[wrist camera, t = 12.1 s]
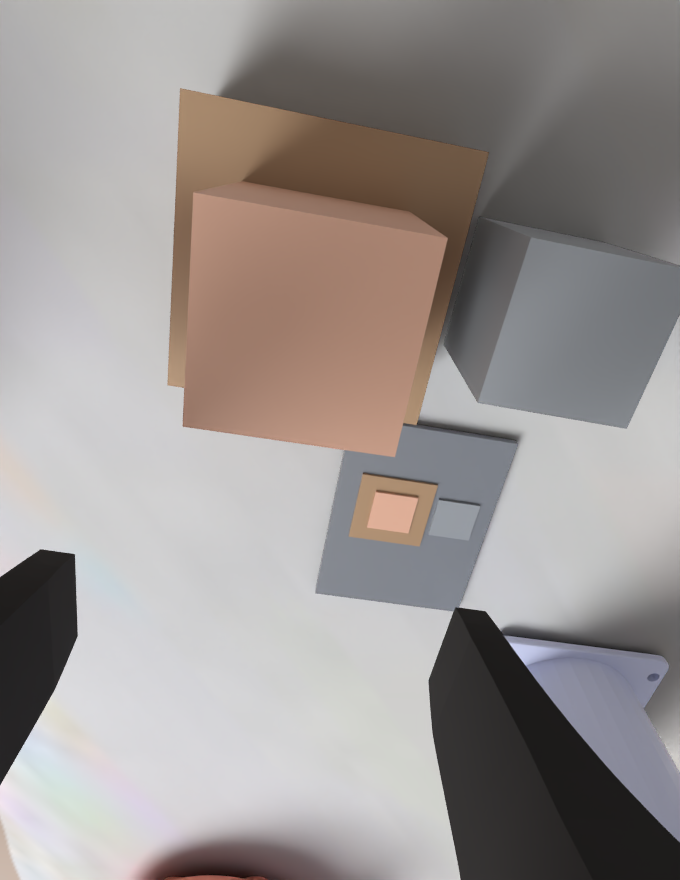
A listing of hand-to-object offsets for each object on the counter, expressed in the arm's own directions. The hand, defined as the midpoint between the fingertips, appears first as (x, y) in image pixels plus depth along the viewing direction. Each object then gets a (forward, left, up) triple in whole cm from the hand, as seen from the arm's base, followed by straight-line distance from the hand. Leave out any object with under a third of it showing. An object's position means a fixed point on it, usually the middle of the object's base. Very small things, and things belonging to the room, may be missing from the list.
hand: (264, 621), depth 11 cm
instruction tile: (-4, -5, -10) cm, 12 cm away
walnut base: (+5, 0, -10) cm, 11 cm away
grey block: (+5, -6, -10) cm, 13 cm away
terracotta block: (+5, 0, -6) cm, 8 cm away
